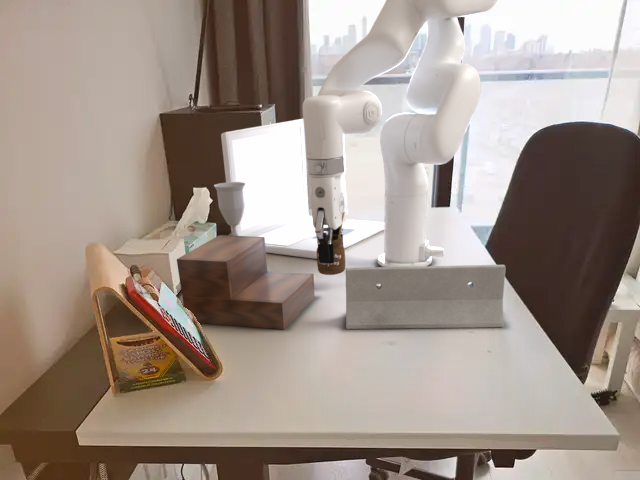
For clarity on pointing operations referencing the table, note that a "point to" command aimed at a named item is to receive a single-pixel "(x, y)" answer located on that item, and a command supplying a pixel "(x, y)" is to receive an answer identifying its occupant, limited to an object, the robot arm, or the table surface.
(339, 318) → the table surface
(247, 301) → the step shelf
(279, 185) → the laptop
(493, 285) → the barrier
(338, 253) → the utensil holder
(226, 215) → the chalice
